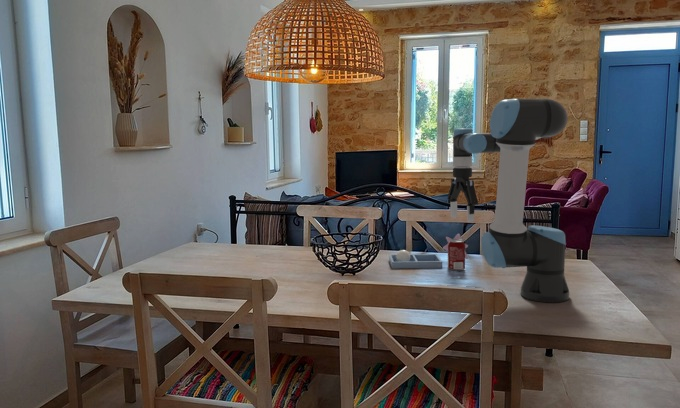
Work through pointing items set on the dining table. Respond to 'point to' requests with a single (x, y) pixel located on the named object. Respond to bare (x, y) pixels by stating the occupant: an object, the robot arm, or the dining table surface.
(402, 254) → the cream white ball
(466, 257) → the lily
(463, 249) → the soda can
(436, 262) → the holder
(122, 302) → the dining table surface
